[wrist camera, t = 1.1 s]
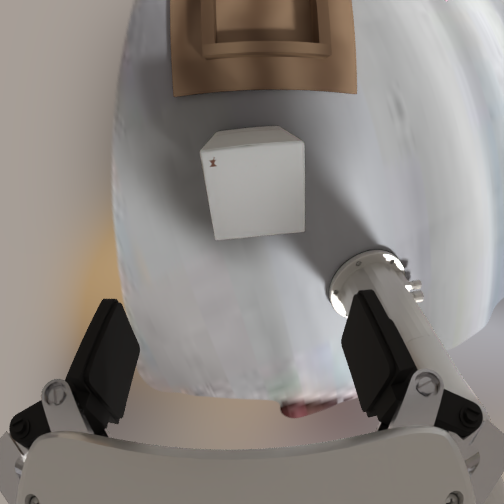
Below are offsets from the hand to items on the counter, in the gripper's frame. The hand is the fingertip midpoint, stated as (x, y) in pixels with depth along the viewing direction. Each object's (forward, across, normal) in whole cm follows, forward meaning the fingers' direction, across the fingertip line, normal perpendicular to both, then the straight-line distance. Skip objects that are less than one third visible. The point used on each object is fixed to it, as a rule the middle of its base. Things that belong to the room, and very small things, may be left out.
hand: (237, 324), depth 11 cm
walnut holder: (+24, -3, -19) cm, 31 cm away
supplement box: (+24, -2, -1) cm, 24 cm away
